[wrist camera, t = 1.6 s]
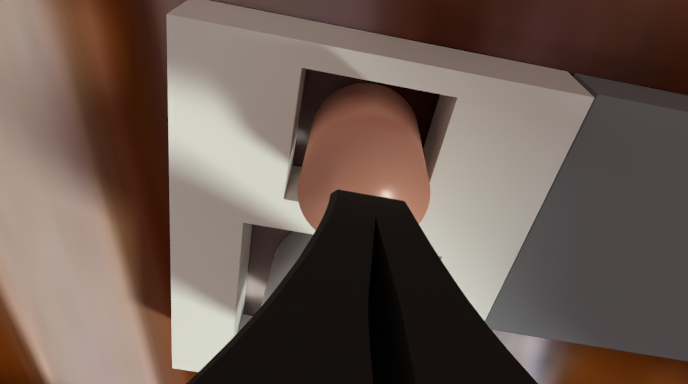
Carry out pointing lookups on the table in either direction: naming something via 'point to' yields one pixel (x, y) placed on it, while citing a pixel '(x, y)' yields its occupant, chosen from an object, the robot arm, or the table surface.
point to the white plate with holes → (282, 177)
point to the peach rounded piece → (363, 151)
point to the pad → (610, 232)
